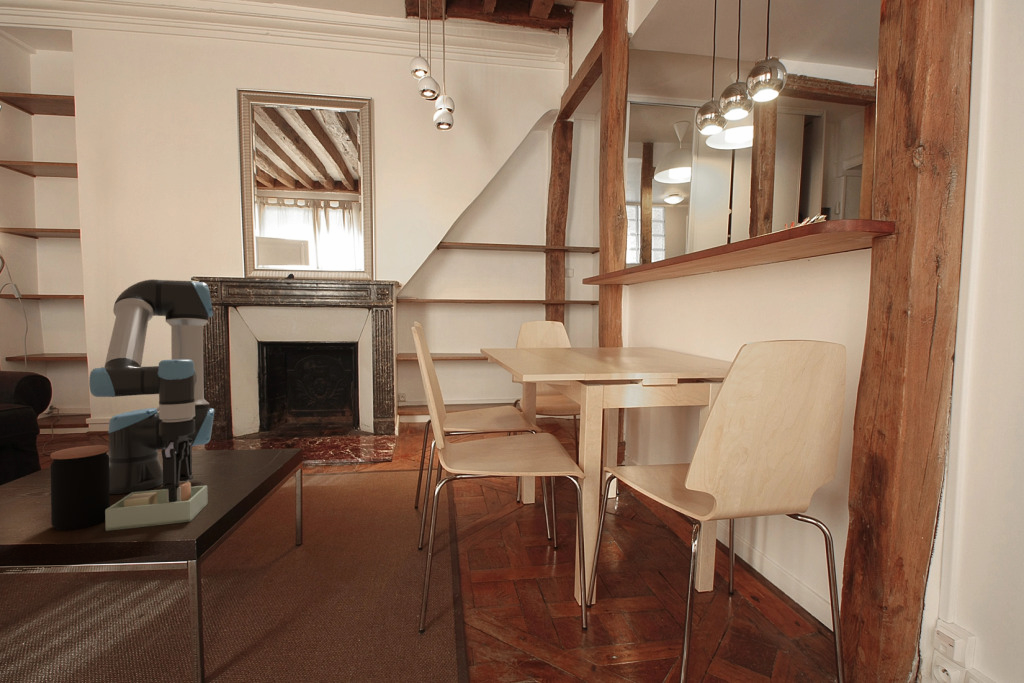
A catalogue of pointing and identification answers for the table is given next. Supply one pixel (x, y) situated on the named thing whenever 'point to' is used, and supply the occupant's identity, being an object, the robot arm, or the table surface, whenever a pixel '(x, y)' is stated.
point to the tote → (155, 510)
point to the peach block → (185, 491)
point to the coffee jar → (79, 487)
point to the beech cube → (141, 499)
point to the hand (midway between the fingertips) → (178, 509)
